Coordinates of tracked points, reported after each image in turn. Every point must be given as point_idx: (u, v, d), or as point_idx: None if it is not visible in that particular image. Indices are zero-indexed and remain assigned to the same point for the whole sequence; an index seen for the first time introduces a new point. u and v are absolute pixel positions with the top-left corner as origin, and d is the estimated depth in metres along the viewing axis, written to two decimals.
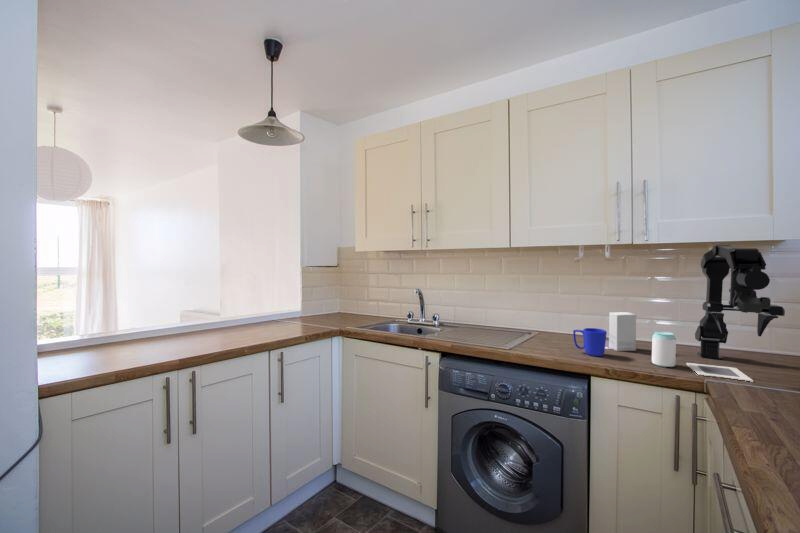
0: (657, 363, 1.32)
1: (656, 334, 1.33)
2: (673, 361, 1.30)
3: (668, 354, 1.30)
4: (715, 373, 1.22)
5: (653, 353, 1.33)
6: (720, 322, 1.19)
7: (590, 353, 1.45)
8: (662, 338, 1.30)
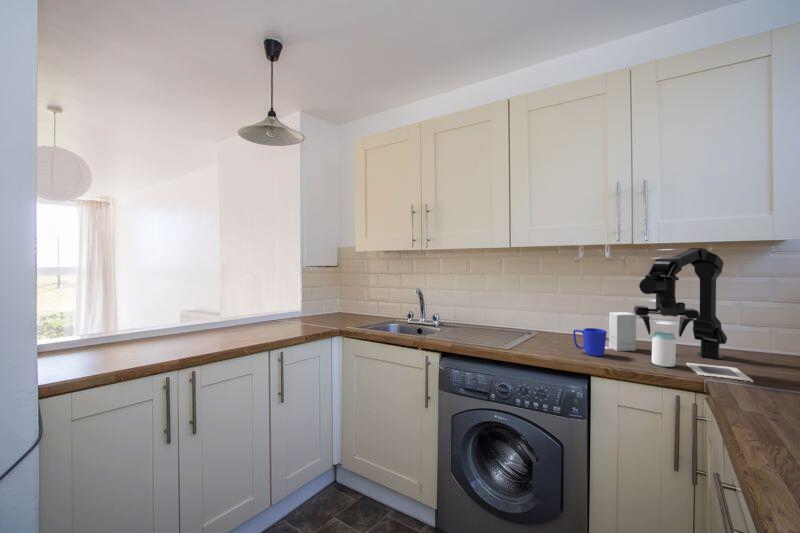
0: (657, 363, 1.32)
1: (656, 334, 1.33)
2: (673, 361, 1.30)
3: (668, 354, 1.30)
4: (715, 373, 1.22)
5: (653, 353, 1.33)
6: (647, 324, 1.34)
7: (590, 353, 1.45)
8: (662, 338, 1.30)
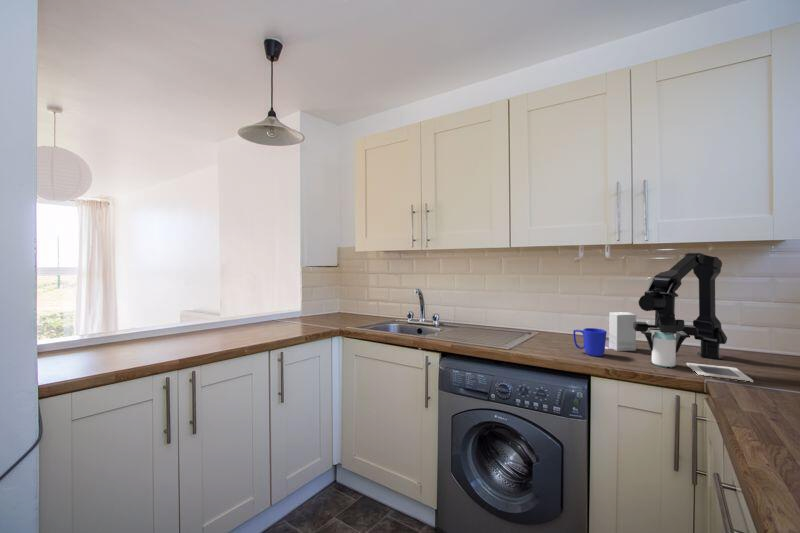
0: (657, 363, 1.32)
1: (656, 334, 1.33)
2: (673, 361, 1.30)
3: (668, 354, 1.30)
4: (715, 373, 1.22)
5: (653, 353, 1.33)
6: (649, 340, 1.34)
7: (590, 353, 1.45)
8: (662, 338, 1.30)
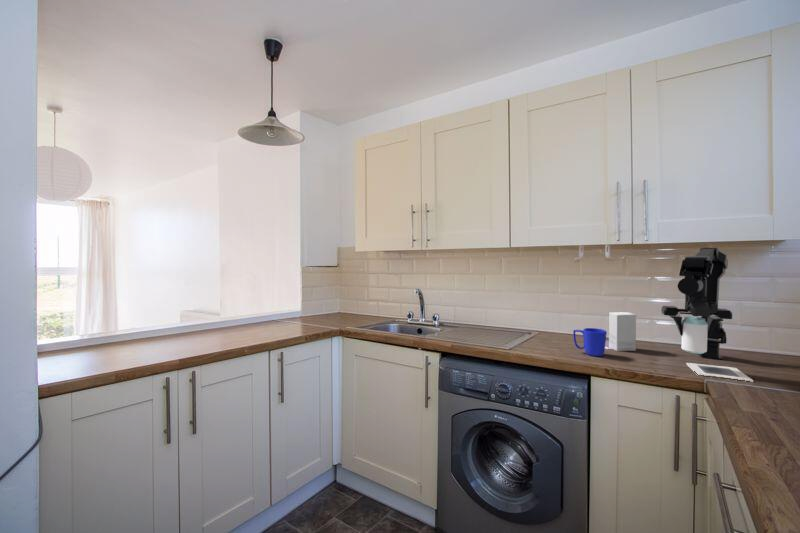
0: (688, 349, 1.27)
1: (686, 319, 1.28)
2: (705, 347, 1.25)
3: (699, 340, 1.25)
4: (715, 373, 1.22)
5: (683, 339, 1.28)
6: (679, 325, 1.29)
7: (590, 353, 1.45)
8: (693, 323, 1.26)
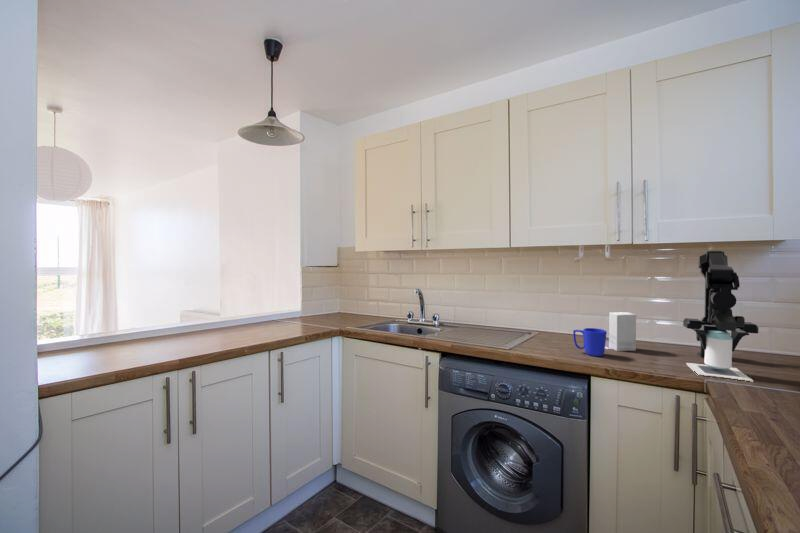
0: (712, 364, 1.23)
1: (710, 334, 1.24)
2: (730, 362, 1.22)
3: (724, 355, 1.21)
4: (715, 373, 1.22)
5: (707, 354, 1.25)
6: (702, 338, 1.25)
7: (590, 353, 1.45)
8: (717, 338, 1.22)
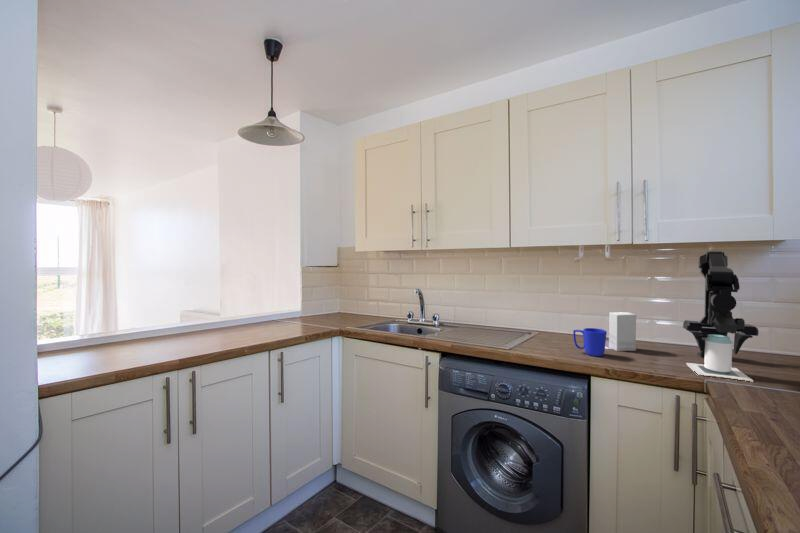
0: (712, 368, 1.23)
1: (710, 337, 1.24)
2: (729, 366, 1.22)
3: (724, 359, 1.21)
4: (715, 373, 1.22)
5: (707, 358, 1.25)
6: (699, 340, 1.26)
7: (590, 353, 1.45)
8: (717, 342, 1.22)
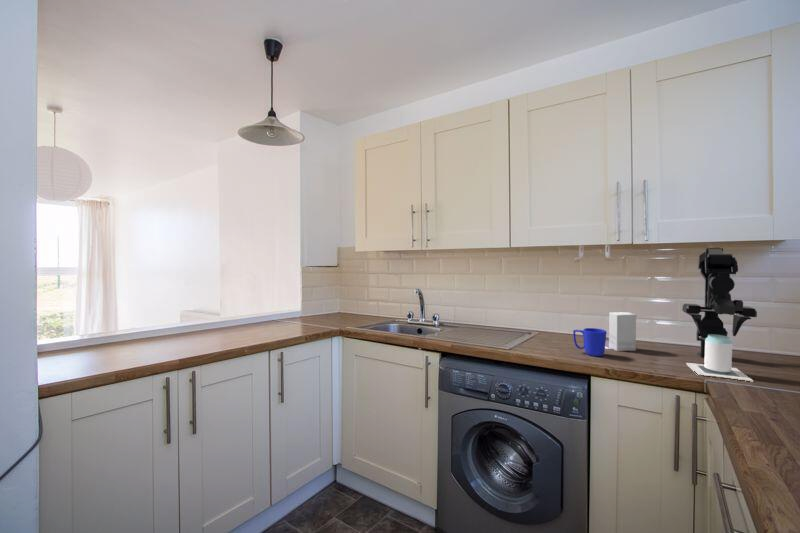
0: (712, 368, 1.23)
1: (710, 337, 1.24)
2: (729, 366, 1.22)
3: (724, 359, 1.21)
4: (715, 373, 1.22)
5: (707, 358, 1.25)
6: (698, 323, 1.27)
7: (590, 353, 1.45)
8: (717, 342, 1.22)
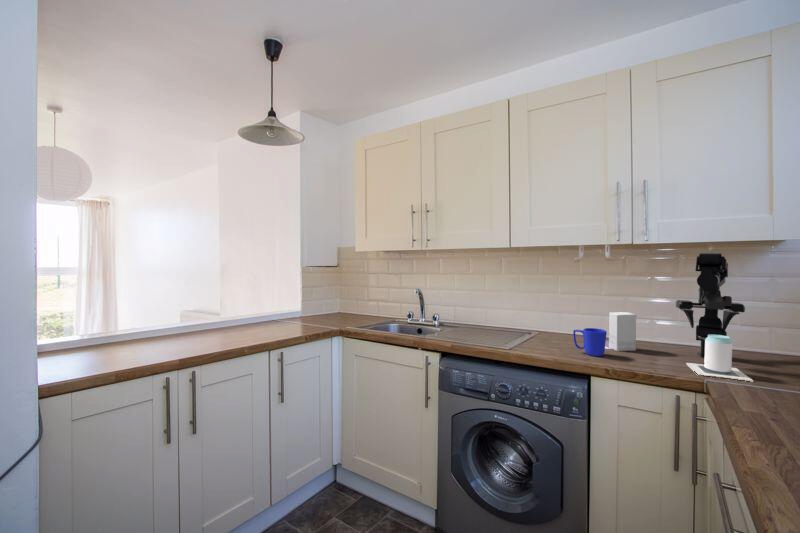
0: (712, 368, 1.23)
1: (710, 337, 1.24)
2: (729, 366, 1.22)
3: (724, 359, 1.21)
4: (715, 373, 1.22)
5: (707, 358, 1.25)
6: (690, 318, 1.35)
7: (590, 353, 1.45)
8: (717, 342, 1.22)
